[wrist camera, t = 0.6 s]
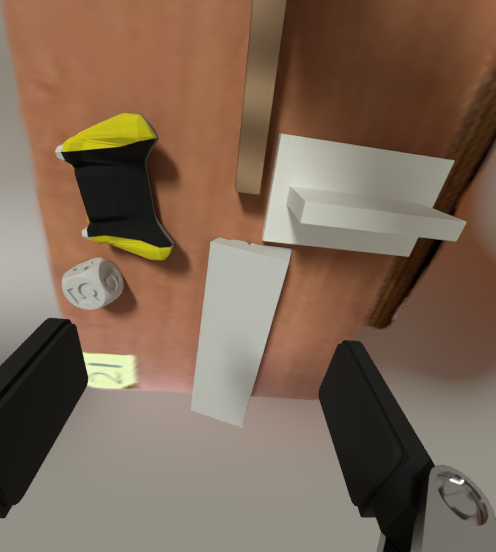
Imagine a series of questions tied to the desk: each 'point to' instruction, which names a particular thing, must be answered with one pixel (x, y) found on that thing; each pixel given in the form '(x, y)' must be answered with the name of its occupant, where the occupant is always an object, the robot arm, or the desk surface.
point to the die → (93, 284)
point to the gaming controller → (118, 184)
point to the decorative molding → (235, 324)
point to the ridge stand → (355, 197)
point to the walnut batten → (258, 91)
